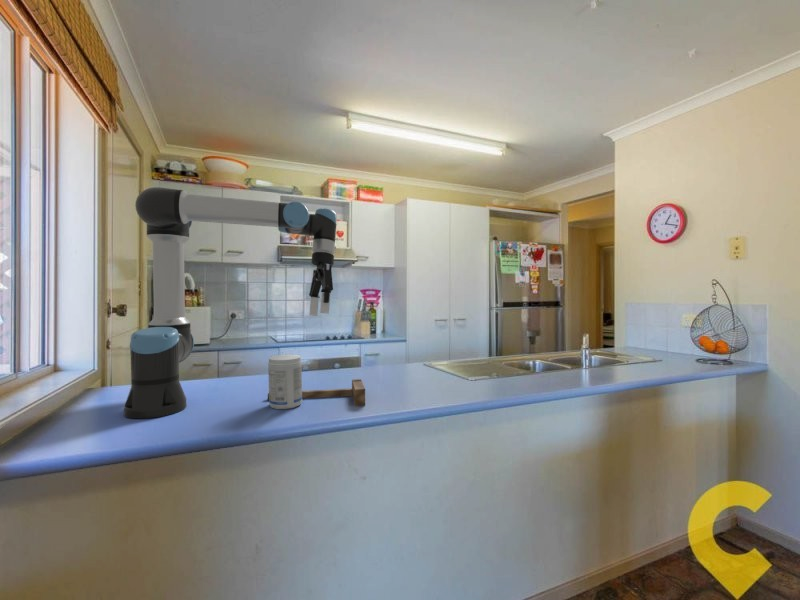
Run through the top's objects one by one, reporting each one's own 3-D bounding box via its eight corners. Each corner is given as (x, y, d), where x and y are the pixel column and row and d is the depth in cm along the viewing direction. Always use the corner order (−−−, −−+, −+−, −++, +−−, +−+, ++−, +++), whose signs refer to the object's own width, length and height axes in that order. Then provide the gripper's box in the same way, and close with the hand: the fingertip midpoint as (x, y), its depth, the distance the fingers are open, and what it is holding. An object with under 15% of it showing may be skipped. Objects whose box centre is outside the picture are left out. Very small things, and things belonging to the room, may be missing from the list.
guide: (262, 411, 110) (262, 394, 109) (268, 398, 122) (268, 383, 122) (366, 405, 115) (366, 388, 115) (362, 393, 128) (362, 379, 128)
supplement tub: (294, 398, 122) (294, 352, 122) (307, 405, 115) (307, 357, 115) (263, 404, 116) (263, 356, 116) (275, 412, 109) (275, 361, 108)
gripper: (345, 247, 124) (341, 312, 121) (323, 261, 146) (319, 317, 143) (323, 243, 121) (318, 310, 118) (303, 258, 143) (299, 315, 140)
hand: (318, 314), depth 131 cm, fingers open, 13 cm apart
